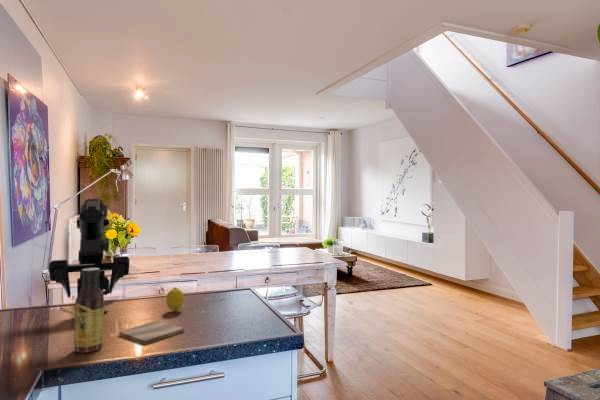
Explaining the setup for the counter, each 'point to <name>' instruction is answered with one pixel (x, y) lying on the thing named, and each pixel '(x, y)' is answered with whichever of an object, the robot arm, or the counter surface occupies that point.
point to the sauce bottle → (89, 313)
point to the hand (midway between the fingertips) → (90, 294)
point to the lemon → (175, 299)
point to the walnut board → (151, 332)
